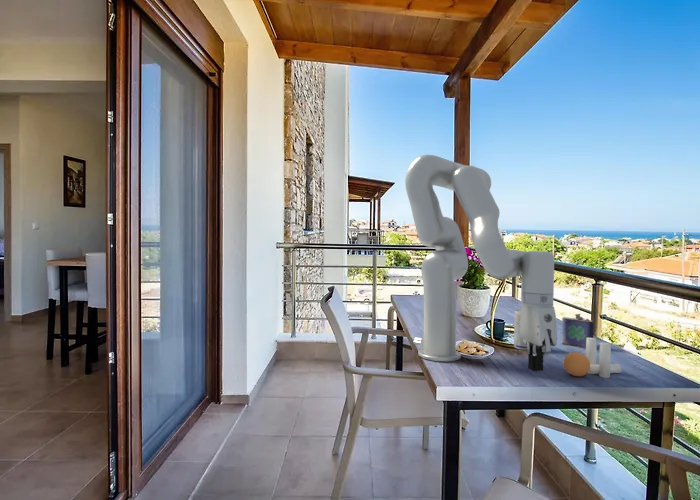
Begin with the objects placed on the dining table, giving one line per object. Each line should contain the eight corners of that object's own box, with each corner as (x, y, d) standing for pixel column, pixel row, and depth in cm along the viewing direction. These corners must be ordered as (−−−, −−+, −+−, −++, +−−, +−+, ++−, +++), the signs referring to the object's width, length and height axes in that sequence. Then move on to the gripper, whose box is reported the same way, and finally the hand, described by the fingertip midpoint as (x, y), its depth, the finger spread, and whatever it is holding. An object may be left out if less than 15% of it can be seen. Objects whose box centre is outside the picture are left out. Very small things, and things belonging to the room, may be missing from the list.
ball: (592, 370, 105) (571, 381, 106) (577, 349, 108) (556, 360, 108) (597, 368, 100) (575, 379, 100) (581, 346, 102) (560, 357, 103)
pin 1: (584, 369, 109) (585, 338, 108) (586, 367, 110) (587, 337, 110) (594, 372, 107) (595, 340, 107) (596, 369, 109) (597, 338, 108)
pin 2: (597, 376, 104) (598, 343, 103) (600, 374, 105) (601, 341, 105) (608, 378, 102) (609, 345, 102) (610, 376, 104) (611, 343, 103)
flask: (560, 344, 135) (561, 312, 134) (563, 342, 137) (564, 311, 136) (591, 349, 128) (593, 316, 128) (594, 348, 130) (595, 315, 130)
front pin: (588, 362, 106) (618, 361, 107) (583, 367, 108) (613, 366, 108) (592, 371, 104) (623, 370, 105) (588, 375, 106) (618, 374, 107)
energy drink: (533, 350, 126) (534, 313, 126) (515, 349, 128) (516, 312, 127) (529, 346, 132) (530, 309, 131) (512, 345, 133) (513, 309, 132)
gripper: (569, 304, 97) (567, 379, 97) (534, 294, 111) (532, 360, 112) (540, 304, 96) (538, 380, 96) (508, 295, 111) (507, 361, 111)
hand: (535, 369), depth 104 cm, fingers closed
